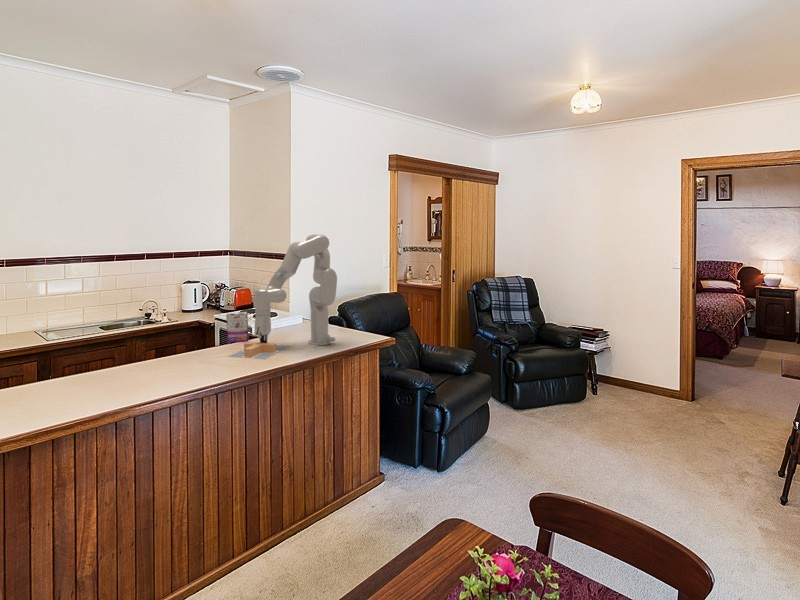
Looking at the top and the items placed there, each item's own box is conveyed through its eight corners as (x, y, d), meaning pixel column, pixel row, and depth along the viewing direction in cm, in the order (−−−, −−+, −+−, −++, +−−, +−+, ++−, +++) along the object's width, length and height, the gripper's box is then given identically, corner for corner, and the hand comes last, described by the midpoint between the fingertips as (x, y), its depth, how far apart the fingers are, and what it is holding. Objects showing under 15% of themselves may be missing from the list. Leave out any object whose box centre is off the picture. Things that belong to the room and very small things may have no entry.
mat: (290, 346, 279) (290, 345, 279) (265, 360, 250) (265, 359, 250) (256, 344, 283) (256, 343, 283) (227, 357, 254) (227, 356, 254)
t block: (276, 351, 266) (276, 343, 266) (263, 358, 252) (263, 350, 251) (248, 349, 269) (247, 341, 269) (233, 356, 255) (232, 348, 254)
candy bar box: (248, 340, 293) (247, 311, 291) (248, 342, 288) (247, 313, 286) (227, 341, 290) (226, 312, 288) (227, 343, 285) (226, 313, 283)
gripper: (262, 310, 275) (263, 344, 278) (249, 314, 261) (250, 350, 263) (276, 311, 274) (276, 345, 276) (263, 315, 259) (263, 351, 262)
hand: (263, 347), depth 270 cm, fingers closed
